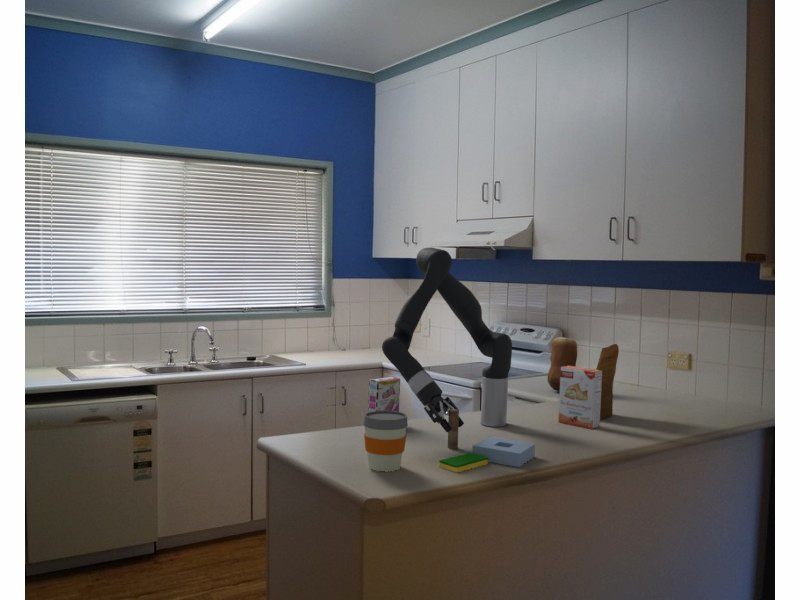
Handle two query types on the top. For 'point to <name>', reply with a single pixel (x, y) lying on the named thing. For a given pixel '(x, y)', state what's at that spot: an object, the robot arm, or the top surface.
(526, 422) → the top surface
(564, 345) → the butternut squash
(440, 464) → the dish sponge
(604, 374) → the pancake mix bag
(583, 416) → the cracker box
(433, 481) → the top surface
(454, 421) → the walnut peg
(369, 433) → the reusable coffee cup
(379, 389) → the candy bar box
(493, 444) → the hole block
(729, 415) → the top surface
